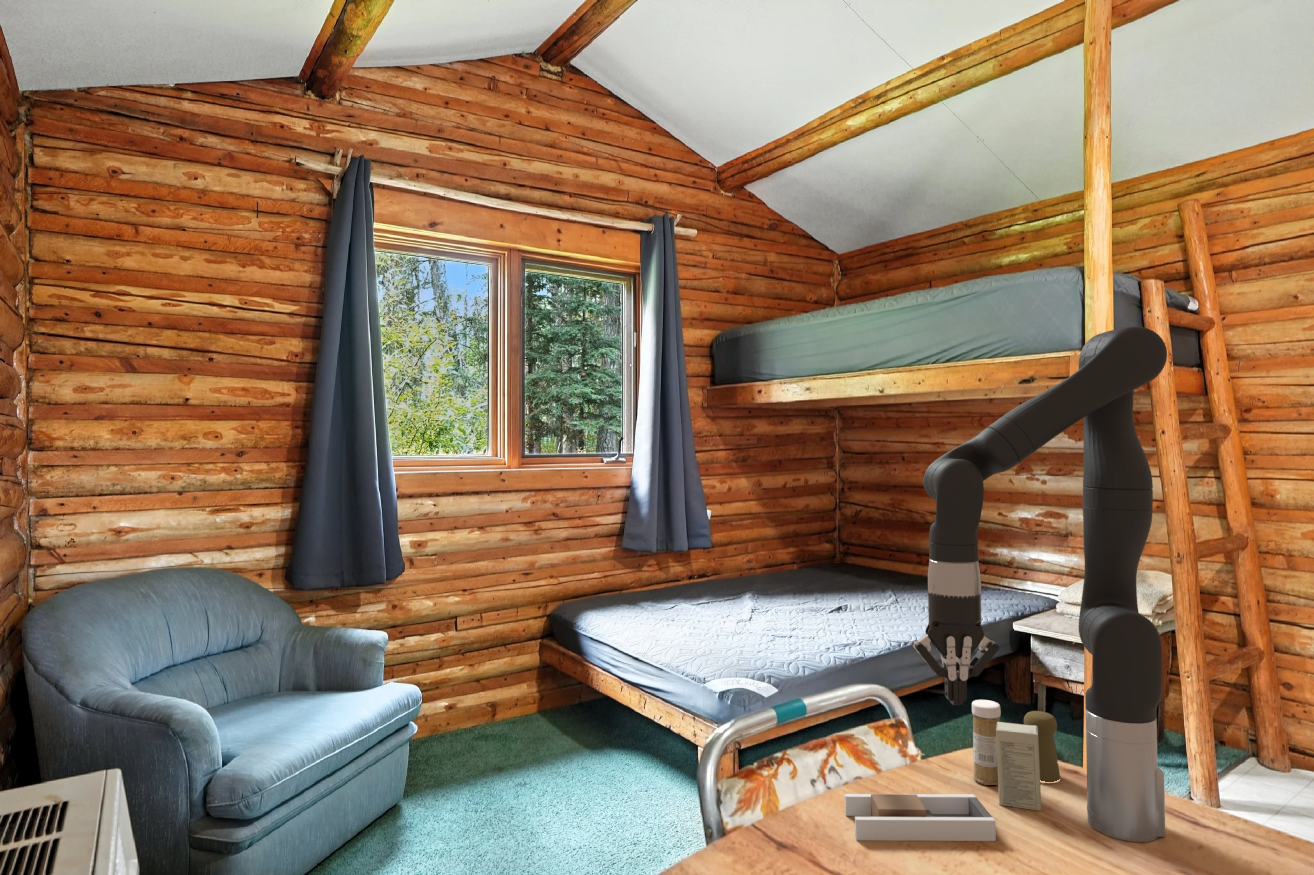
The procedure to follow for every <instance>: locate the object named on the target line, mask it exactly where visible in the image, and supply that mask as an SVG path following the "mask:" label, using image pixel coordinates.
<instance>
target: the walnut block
mask: <svg viewBox="0 0 1314 875" xmlns="http://www.w3.org/2000/svg"><path fill="white" fill-rule="evenodd" d="M870 794H871V816H870V817H926V809H925V808H924V806H923V804H922V803H921V801H920V799H919V798H918V796H917V795H905V794H906V793H870Z"/></svg>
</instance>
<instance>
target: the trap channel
mask: <svg viewBox="0 0 1314 875" xmlns="http://www.w3.org/2000/svg"><path fill="white" fill-rule="evenodd" d="M871 794H872V793H844V815H845V817H854V837H855V840H856V841H900V842H901V841H902V842H903V841H906V842H907V841H908V842H909V841H910V842H911V841H912V842H913V841H914V842H915V841H916V842H918V841H920V842H921V841H922V842H925V841H926V842H929V841H930V842H931V841H932V842H935V841H936V842H939V841H940V842H943V841H944V842H958V841H959V842H996V841H997V840H996V839H997V838H996V820H995V819H994V817H993V815H991V814H990V812H989V811H988V809H987V808H986V807H985V806H984V805H983V803H981V801H980V800H979V799H978V797H977V796H976V795H975V794H972V793H971V794H970V793H968V794H965V793H963V794H961V793H960V794H959V793H957V794H955V793H954V794H953V793H950V794H948V793H942V794H941V793H939V794H938V793H934V794H933V793H904V794H905V795H917V796H918V798H919V799H920V801H921V803H922V804H923V806H924V808H925V809H926V817H871Z"/></svg>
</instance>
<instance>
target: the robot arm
mask: <svg viewBox="0 0 1314 875" xmlns="http://www.w3.org/2000/svg"><path fill="white" fill-rule="evenodd" d="M1167 359H1168V349H1167V346H1166V343H1165V342H1164V339H1163V338H1162V337H1161V336H1160V335H1159V334H1158V333H1157V332H1155V331H1154V330H1152V329H1150V328H1147V327H1143V326H1124V327H1119V328H1116V329H1112V330H1108V331H1104V332H1101V333H1099V334H1096V335H1094V336H1092V337H1091V338H1090V339H1088V340H1087V342H1085V344H1084V345H1083V346H1082V348H1081V351H1080V353H1079V358H1078V370H1076V371H1075V372H1074V373H1072V374H1071V375H1070V376H1069V377H1067V378H1065V379H1063V380H1062V381H1061V382H1059V383H1057V384H1055V385H1054V386H1052V387H1050V388H1048V389H1047V390H1045V391H1043V392H1041V393H1039V394H1038V395H1035V396H1034V397H1032V398H1030V399H1028V400H1026V401H1025V402H1023V403H1021V404H1019V405H1018V406H1016V407H1014V408H1013V409H1011V410H1009V411H1008V412H1006V413H1005V414H1004V415H1002V416H1001V417H1000V418H998V419H997V420H995V421H994V422H993V423H991V424H990V425H988V426H987V427H986V428H984V429H983V430H982V431H981V432H979V433H978V434H977V435H976V436H974V437H973V438H971V439H969V440H967V441H966V442H963V443H962V444H960V445H959V446H956V447H954V448H953V449H951V450H950V451H948V452H946V453H944V454H942V455H941V456H940V457H938V458H936V460H934V461H933V462H931V464H930V465H929V466H928V467H927V469H925V472H924V475H923V478H922V479H923V480H922V482H923V484H922V485H923V488H924V490H925V492H926V494H927V495H928V496H929V497H930V498H931V499H933V500H934V501H936V507H935V521H934V522H933V523H932V524H931V525H930V528H929V535H928V551H929V554H928V556H929V557H928V558H929V559H928V560H929V561H928V569H927V594H928V595H927V600H928V601H927V602H928V605H927V606H928V607H927V608H928V609H927V610H928V613H927V614H928V615H927V616H928V624H927V626H926V627H925V628H926V629H925V634H924V635H923V636H921V637H920V638H919V639H914V640H912V642H911V645H912V647H913V648H914V649H915V651H916V652H917V654H918V655H920V657H921V658H922V660H923V662H925V663H926V665H927V666H928V667H929V669H931V670H932V672H933V673H935V675H936V676H938V677H939V678H941V677H942V678H944V696H945V699H947V700H948V701H949V702H950V704H951V705H953V706H963V705H964V702H966V701H967V699H968V679H970V678H973V677H978V676H979V675H980V674H981V673H982V672H983V671H984V669H985V668H986V666H988V664H989V663H990V661H991V660H992V658H994V656H995V655H996V654H997V652H998V651H999V650H1000V646H999V644H998V643H996V642H995V641H993V640H992V639H989V637H986V635H985V630H984V629H983V627H982V595H981V594H982V592H981V591H982V583H981V571H980V564H979V536H978V531H979V526H980V522H981V517H982V511H983V505H984V500H985V499H984V496H985V484H984V481H986V480H987V479H988V478H990V477H992V476H994V475H996V474H1000V473H1001V474H1002V473H1005V472H1007V471H1009V470H1010V469H1012V468H1014V467H1016V466H1018V464H1020V463H1021V462H1023V461H1024V460H1025V459H1026V458H1028V457H1030V456H1031V455H1033V454H1034V453H1035V452H1037V450H1039V449H1041V448H1042V447H1043V446H1045V445H1047V443H1049V442H1050V441H1052V440H1053V439H1054V438H1056V437H1057V436H1058V435H1060V434H1062V433H1063V432H1064V431H1066V430H1067V429H1068V428H1070V427H1071V426H1073V425H1075V424H1076V423H1077V422H1079V421H1081V420H1082V419H1083V471H1082V472H1083V476H1082V521H1083V529H1082V530H1083V535H1082V536H1083V556H1084V574H1083V585H1082V592H1081V593H1082V595H1081V600H1080V601H1081V602H1080V609H1079V616H1078V617H1079V618H1078V634H1079V637H1080V641H1081V643H1082V645H1083V647H1084V649H1086V651H1087V653H1089V654H1090V655H1091V656H1092V659H1091V660H1092V672H1091V673H1092V678H1091V680H1092V681H1091V686H1090V687H1089V688H1087V689H1086V691H1085V698H1084V699H1085V736H1086V737H1085V741H1086V742H1085V744H1086V746H1085V747H1086V748H1085V749H1086V750H1085V752H1086V793H1087V795H1086V796H1087V797H1086V799H1087V800H1086V801H1087V802H1086V804H1087V805H1086V811H1087V812H1086V813H1087V823H1088V824H1089V825H1090V826H1091V827H1092V828H1093V829H1095V831H1096V830H1097V831H1098V832H1100V833H1102V834H1103V835H1106V836H1108V837H1112V838H1115V839H1117V840H1118V839H1119V840H1122V841H1128V842H1135V843H1136V842H1137V843H1139V842H1140V843H1143V842H1151V841H1154V840H1155V839H1158V838H1161V837H1162V838H1164V837H1166V806H1165V805H1166V801H1165V798H1166V797H1165V795H1166V794H1165V772H1164V771H1163V770H1162V769H1160V768H1159V767H1158V739H1157V738H1158V730H1157V729H1158V728H1157V725H1158V724H1157V709H1158V708H1157V707H1158V706H1159V703H1160V702H1161V700H1162V699H1161V698H1162V687H1163V685H1162V684H1163V683H1162V681H1163V645H1162V639H1161V636H1160V633H1159V631H1158V629H1157V626H1156V625H1155V624H1154V623H1153V622H1152V621H1151V620H1150V619H1148V618H1147V617H1146V616H1144V615H1143V614H1141V613H1139V607H1138V589H1137V587H1138V586H1137V573H1138V568H1139V563H1140V559H1141V556H1142V555H1143V551H1144V549H1145V546H1146V543H1147V540H1148V537H1149V534H1150V530H1151V526H1152V521H1153V513H1154V512H1153V511H1154V510H1153V509H1154V508H1153V507H1154V506H1153V505H1154V502H1153V500H1154V497H1153V495H1154V492H1153V487H1154V485H1153V476H1152V471H1151V467H1150V464H1149V461H1148V459H1147V455H1146V453H1145V452H1144V451H1145V450H1144V448H1143V447H1142V445H1141V442H1140V440H1139V436H1138V435H1137V431H1136V430H1137V429H1136V427H1135V421H1134V393H1135V392H1134V391H1135V390H1136V389H1138V388H1141V387H1143V386H1144V385H1146V384H1148V383H1150V382H1152V381H1154V380H1155V379H1156V378H1157V377H1158V376H1159V375H1160V374H1161V373H1162V371H1163V370H1164V368H1165V366H1166V363H1167ZM931 644H932V646H933V647H934V648H935V649H936V651H937V652H938V653H939V654H940V659H941V660H940V661H941V663H942V666H941V665H940V664H939V662H938V661H936V658H934V656H933V655H932V653H931V651H932V646H931ZM977 648H978V650H977ZM975 650H977V652H976V653H975V654H974V655H973V657H972V658H971V655H972V654H973V653H974V652H975Z"/></svg>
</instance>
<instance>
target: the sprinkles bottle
mask: <svg viewBox="0 0 1314 875" xmlns="http://www.w3.org/2000/svg"><path fill="white" fill-rule="evenodd" d="M971 713H972V719H973V720H972V722H973V726H972V729H973V730H972V744H973V745H972V750H973V768H974V769H973V773H974V774H973V780H974V781H975V782H976V781H977V782H976V783H978V784H980V783H981V784H980V785H983V784H984V785H983V786H987V785H997V786H998V765H997V742H996V725H997V722H1000V719H1001V713H1002V712H1001V705H1000V704H999V702H996V701H993V700H988V699H975V700H973V701H972V702H971Z"/></svg>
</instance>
